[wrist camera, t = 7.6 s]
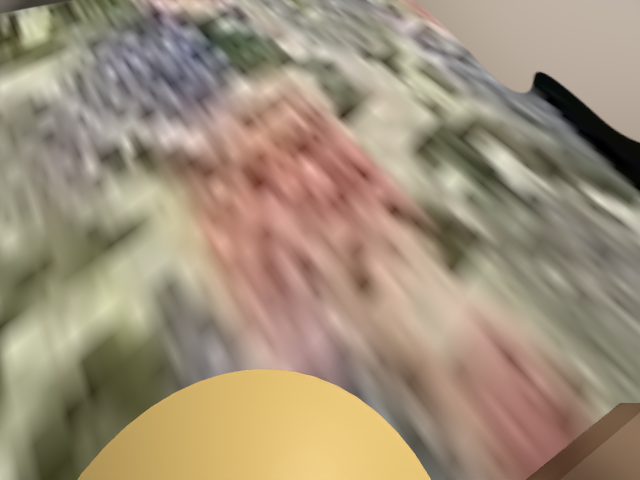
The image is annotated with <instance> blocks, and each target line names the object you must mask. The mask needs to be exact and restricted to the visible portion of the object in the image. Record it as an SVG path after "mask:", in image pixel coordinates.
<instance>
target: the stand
mask: <svg viewBox="0 0 640 480" xmlns="http://www.w3.org/2000/svg"><path fill="white" fill-rule="evenodd" d="M527 480H640V403H620V404H619V405H618V406H617V407H615V408H614V409H613V410H612V411H610V412H609V413H608V414H607V415H605V416H604V417H603V418H602V419H601V420H599V421H598V422H597V423H596V424H594V425H593V426H592V427H591V428H589V429H588V430H587V431H586V432H585V433H583V434H582V435H581V436H580V437H578V438H577V439H576V440H575V441H573V442H572V443H571V444H570V445H569V446H567V447H566V448H565V449H564V450H562V451H561V452H560V453H559V454H557V455H556V456H555V457H554V458H553V459H551V460H550V461H549V462H548V463H546V464H545V465H544V466H543V467H541V468H540V469H539V470H538V471H537V472H535V473H534V474H533V475H532V476H530V477H529V478H528V479H527Z"/></svg>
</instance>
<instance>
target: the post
mask: <svg viewBox="0 0 640 480" xmlns="http://www.w3.org/2000/svg"><path fill="white" fill-rule="evenodd" d="M78 480H431V479H430V477H429V476H428V474H427V472H426V471H425V469H424V468H423V466H422V465H421V463H420V461H419V460H418V458H417V457H416V455H415V454H414V452H413V451H412V450H411V449H410V447H409V446H408V445H407V444H406V442H405V441H404V440H403V439H402V437H401V436H400V435H399V434H398V432H397V431H396V430H395V429H394V428H393V427H392V426H391V425H389V424H388V423H387V422H386V421H385V420H384V419H383V418H382V417H381V416H380V415H379V414H378V413H377V412H376V411H374V410H373V409H372V408H371V407H369V406H368V405H367V404H365V403H364V402H363V401H361V400H360V399H359V398H357V397H356V396H354V395H352V394H350V393H349V392H347V391H345V390H343V389H342V388H340V387H338V386H336V385H334V384H331V383H329V382H326V381H324V380H321V379H319V378H316V377H313V376H309V375H305V374H301V373H297V372H293V371H284V370H274V369H259V370H243V371H238V372H232V373H226V374H222V375H218V376H215V377H212V378H209V379H206V380H203V381H199V382H197V383H195V384H193V385H191V386H188V387H186V388H184V389H182V390H180V391H177V392H175V393H174V394H172V395H170V396H169V397H167V398H165V399H164V400H162V401H160V402H159V403H157V404H155V405H154V406H152V407H151V408H149V409H148V410H147V411H145V412H144V413H143V414H142V415H140V416H139V417H138V418H136V419H135V420H134V421H133V422H131V423H130V424H129V425H127V426H126V427H125V428H124V429H123V430H122V431H121V432H120V433H119V434H118V435H117V436H116V437H115V438H114V439H113V440H112V441H111V442H109V443H108V444H107V445H106V446H105V447H104V448H103V450H102V451H101V452H100V453H99V454H98V455H97V456H96V458H95V459H94V460H93V461H92V462H91V463H90V465H89V466H88V467H87V468H86V469H85V470H84V471H83V473H82V474H81V475H80V477H79V478H78Z"/></svg>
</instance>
